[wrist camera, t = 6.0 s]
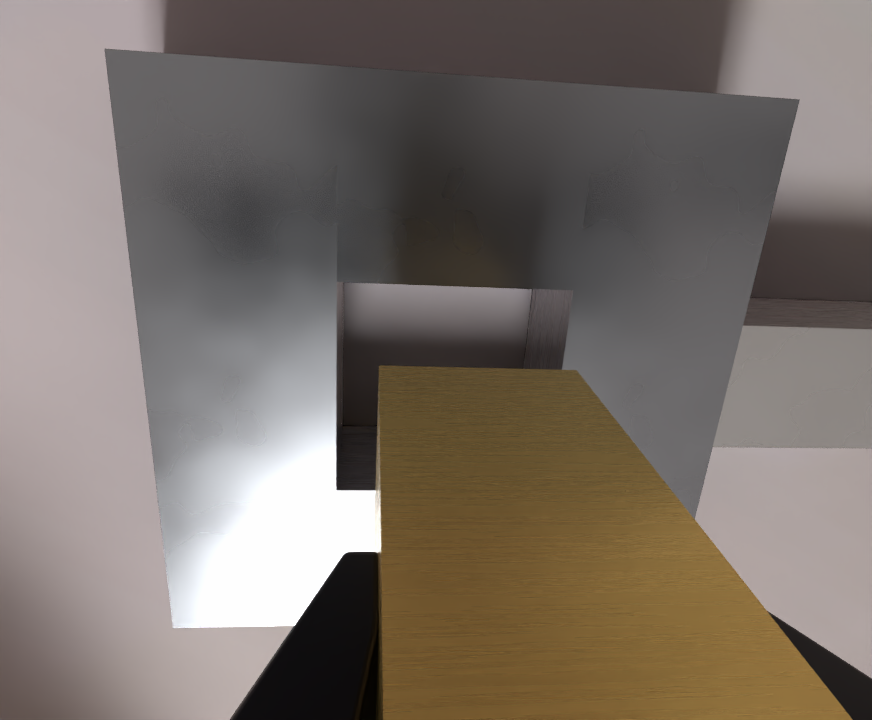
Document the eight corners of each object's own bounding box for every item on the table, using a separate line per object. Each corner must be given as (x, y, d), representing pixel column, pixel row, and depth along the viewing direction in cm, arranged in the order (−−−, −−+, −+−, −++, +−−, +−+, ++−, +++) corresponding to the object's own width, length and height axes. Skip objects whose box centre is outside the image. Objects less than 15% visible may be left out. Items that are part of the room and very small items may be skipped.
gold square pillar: (576, 370, 10) (1527, 1571, 2) (551, 533, 11) (1055, 1731, 3) (379, 365, 10) (396, 1827, 1) (373, 534, 11) (366, 1888, 3)
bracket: (955, 119, 15) (1090, 120, 12) (813, 539, 19) (888, 611, 16) (163, 63, 13) (104, 48, 10) (205, 544, 17) (173, 628, 14)
